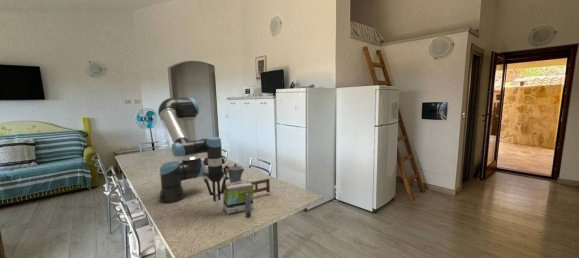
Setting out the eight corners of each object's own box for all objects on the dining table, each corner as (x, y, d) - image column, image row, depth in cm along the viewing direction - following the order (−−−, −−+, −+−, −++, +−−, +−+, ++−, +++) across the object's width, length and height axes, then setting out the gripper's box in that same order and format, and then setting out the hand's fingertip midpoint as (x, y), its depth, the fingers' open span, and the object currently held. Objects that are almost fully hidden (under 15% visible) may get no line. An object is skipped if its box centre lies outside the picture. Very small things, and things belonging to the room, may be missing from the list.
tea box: (228, 214, 136) (227, 188, 134) (223, 207, 145) (222, 183, 143) (253, 209, 143) (253, 184, 142) (247, 202, 152) (247, 179, 150)
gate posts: (243, 218, 133) (242, 195, 131) (234, 199, 157) (233, 179, 156) (254, 216, 135) (253, 193, 133) (244, 197, 160) (243, 178, 158)
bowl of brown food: (210, 167, 229) (209, 151, 227) (234, 169, 223) (234, 153, 221) (193, 176, 205) (192, 158, 203) (220, 178, 199) (219, 160, 197)
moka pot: (242, 195, 163) (241, 166, 160) (221, 194, 166) (219, 165, 163) (247, 190, 172) (246, 162, 170) (227, 189, 175) (226, 161, 173)
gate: (269, 192, 165) (269, 179, 163) (243, 197, 156) (243, 184, 155) (268, 191, 166) (268, 178, 165) (242, 196, 157) (242, 183, 156)
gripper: (202, 168, 130) (205, 210, 133) (228, 165, 135) (229, 206, 138) (202, 164, 137) (204, 205, 140) (226, 162, 142) (228, 201, 144)
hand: (217, 206), depth 139 cm, fingers closed
